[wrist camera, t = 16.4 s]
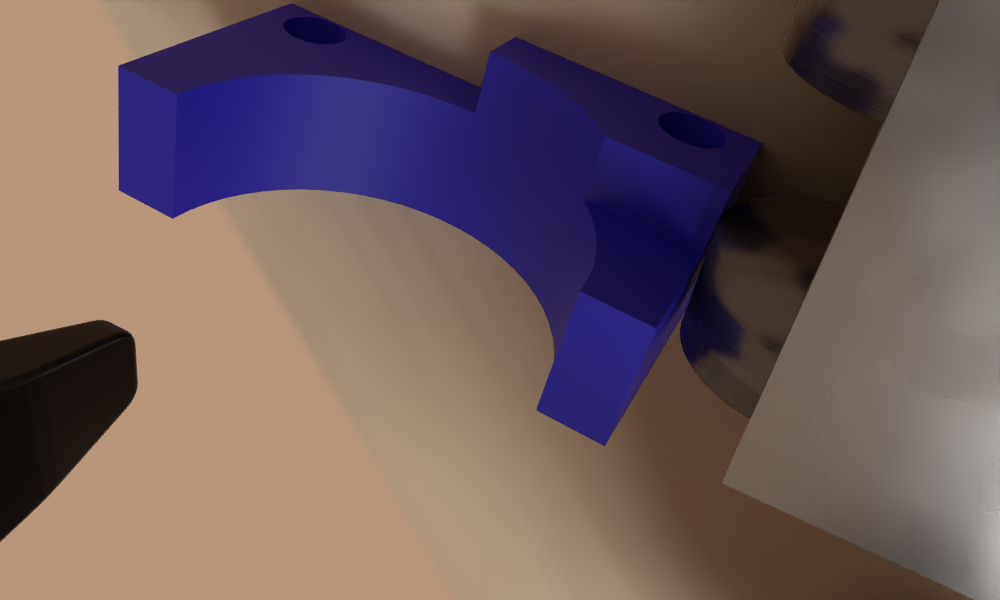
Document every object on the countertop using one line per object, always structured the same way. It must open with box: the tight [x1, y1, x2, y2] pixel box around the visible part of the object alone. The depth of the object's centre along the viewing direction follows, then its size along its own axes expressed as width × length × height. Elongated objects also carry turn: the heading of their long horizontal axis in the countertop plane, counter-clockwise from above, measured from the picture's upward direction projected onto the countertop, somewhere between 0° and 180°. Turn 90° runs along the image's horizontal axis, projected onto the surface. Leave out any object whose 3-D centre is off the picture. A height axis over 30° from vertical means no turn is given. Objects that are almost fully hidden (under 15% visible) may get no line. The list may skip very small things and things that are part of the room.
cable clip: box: [118, 3, 763, 446], centre depth 21 cm, size 12×4×6 cm, turn 75°
